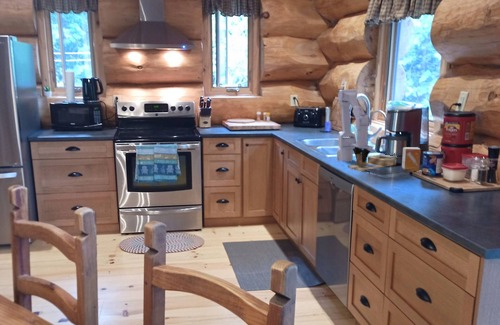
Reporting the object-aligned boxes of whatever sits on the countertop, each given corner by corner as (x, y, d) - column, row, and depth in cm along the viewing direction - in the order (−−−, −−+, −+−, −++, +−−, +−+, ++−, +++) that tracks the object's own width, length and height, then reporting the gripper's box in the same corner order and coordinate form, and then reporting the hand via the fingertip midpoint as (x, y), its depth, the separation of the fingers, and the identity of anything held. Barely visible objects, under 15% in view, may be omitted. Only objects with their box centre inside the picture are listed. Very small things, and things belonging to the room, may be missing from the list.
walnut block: (356, 165, 255) (356, 154, 253) (361, 164, 257) (361, 153, 255) (361, 166, 251) (361, 155, 250) (366, 165, 253) (366, 154, 252)
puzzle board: (348, 168, 258) (348, 159, 257) (378, 163, 271) (379, 155, 270) (364, 172, 247) (365, 163, 246) (395, 167, 260) (396, 158, 259)
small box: (404, 172, 247) (405, 148, 245) (401, 169, 254) (402, 146, 251) (419, 172, 247) (420, 149, 244) (416, 169, 253) (417, 147, 250)
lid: (378, 156, 266) (379, 151, 265) (387, 154, 269) (387, 150, 269) (389, 158, 259) (389, 153, 259) (397, 156, 263) (398, 152, 262)
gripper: (347, 136, 255) (346, 159, 257) (366, 139, 242) (365, 164, 245) (356, 135, 258) (355, 158, 261) (375, 138, 246) (374, 162, 249)
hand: (361, 161), depth 253 cm, fingers closed on walnut block, 4 cm apart
